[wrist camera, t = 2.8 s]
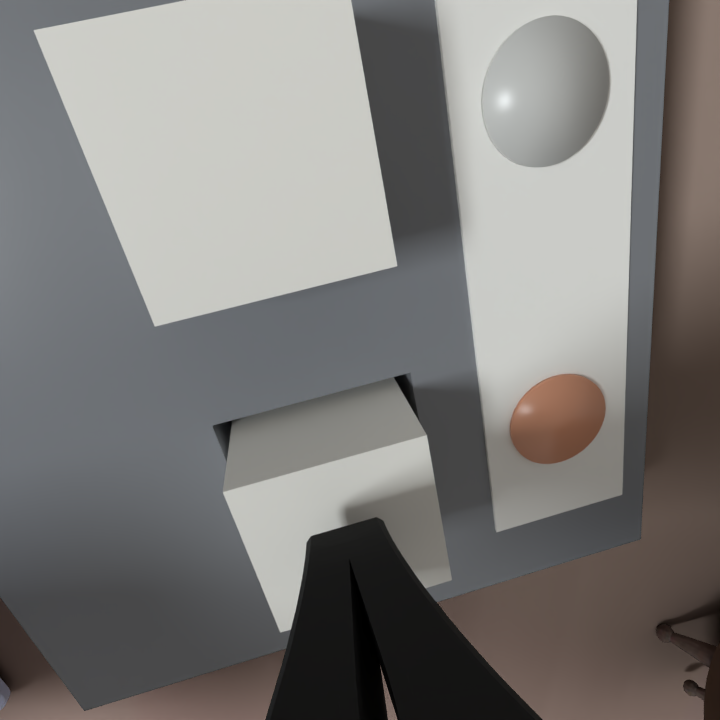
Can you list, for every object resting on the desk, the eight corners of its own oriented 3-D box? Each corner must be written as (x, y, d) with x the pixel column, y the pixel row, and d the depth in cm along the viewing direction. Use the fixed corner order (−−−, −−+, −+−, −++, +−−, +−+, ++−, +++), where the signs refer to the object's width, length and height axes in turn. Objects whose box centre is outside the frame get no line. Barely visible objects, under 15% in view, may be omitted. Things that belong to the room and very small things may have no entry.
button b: (187, 278, 10) (154, 326, 7) (112, 73, 9) (33, 29, 6) (361, 235, 10) (397, 265, 8) (319, 30, 9) (345, -31, 6)
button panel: (116, 613, 15) (81, 720, 13) (-732, -783, 6) (-1841, -1827, 3) (579, 476, 17) (646, 544, 14) (557, -859, 7) (775, -1623, 4)
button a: (277, 526, 13) (280, 633, 10) (234, 407, 11) (223, 491, 9) (412, 488, 13) (452, 580, 10) (387, 366, 12) (427, 435, 9)
